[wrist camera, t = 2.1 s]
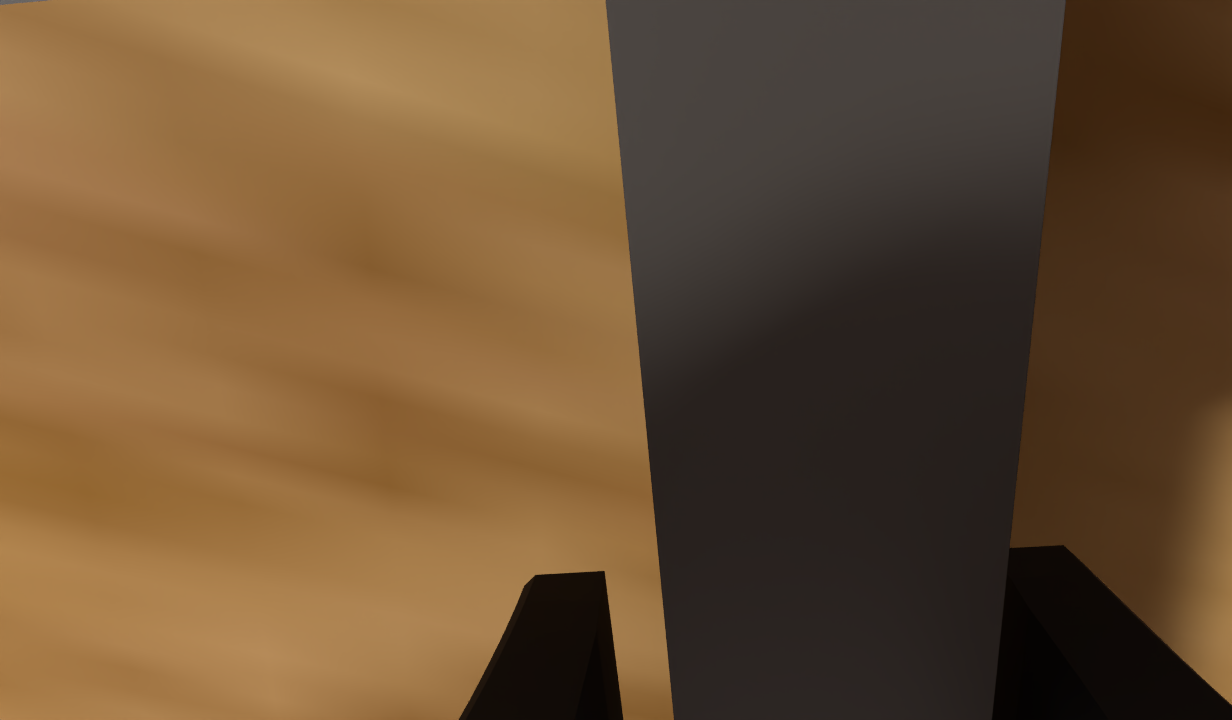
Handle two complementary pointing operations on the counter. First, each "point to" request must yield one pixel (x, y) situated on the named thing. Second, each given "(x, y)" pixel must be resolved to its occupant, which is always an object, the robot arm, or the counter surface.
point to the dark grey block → (834, 337)
